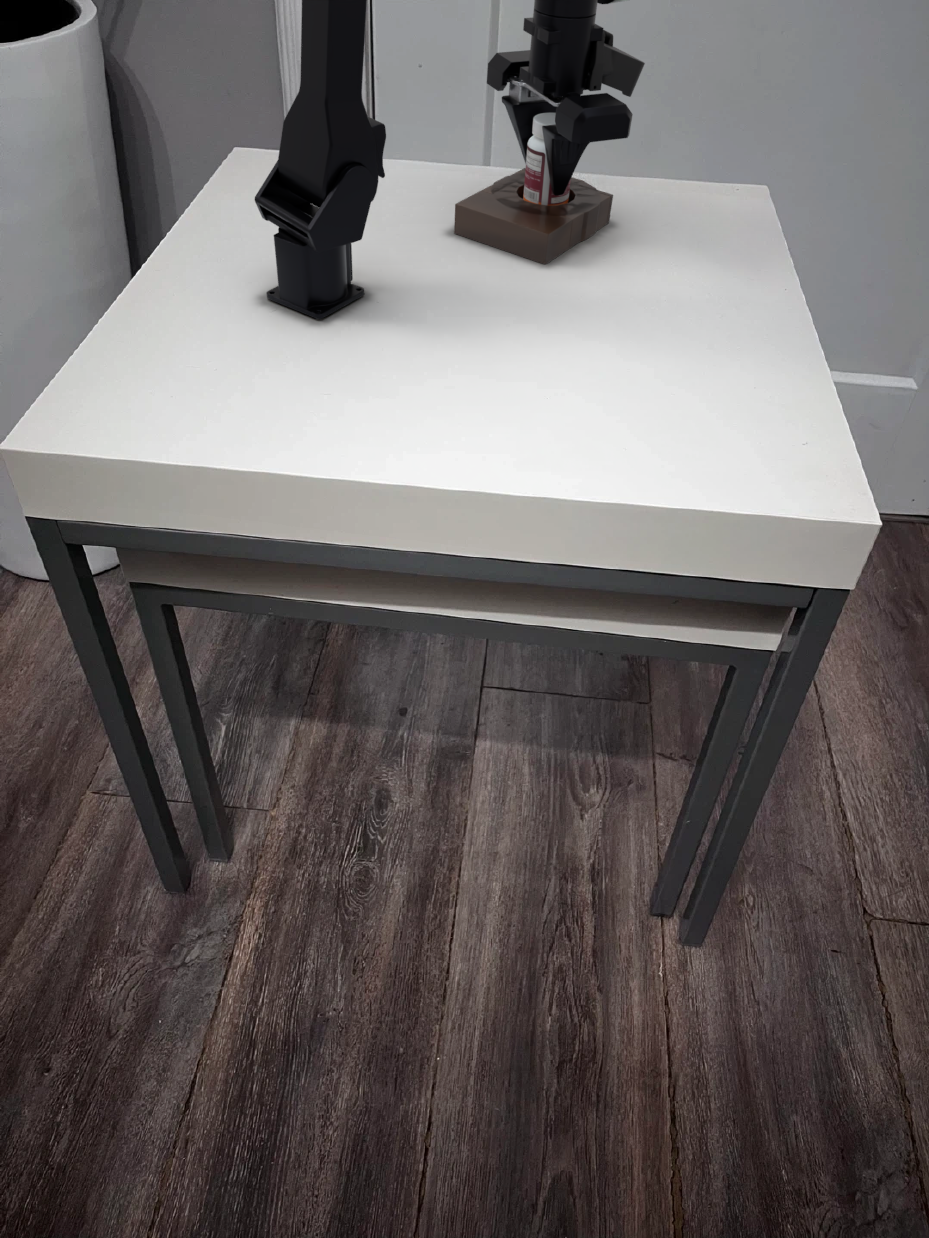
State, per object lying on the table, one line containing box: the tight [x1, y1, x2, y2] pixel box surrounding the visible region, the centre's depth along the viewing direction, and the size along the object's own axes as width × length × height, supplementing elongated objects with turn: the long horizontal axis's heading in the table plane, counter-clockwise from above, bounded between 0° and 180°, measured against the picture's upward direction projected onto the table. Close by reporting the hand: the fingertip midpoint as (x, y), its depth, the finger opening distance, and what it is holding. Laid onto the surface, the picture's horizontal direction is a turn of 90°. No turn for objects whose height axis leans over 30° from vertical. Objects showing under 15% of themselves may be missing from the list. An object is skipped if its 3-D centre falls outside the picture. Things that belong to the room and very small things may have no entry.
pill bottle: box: [523, 113, 571, 206], centre depth 98 cm, size 5×5×8 cm
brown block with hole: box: [453, 167, 614, 265], centre depth 100 cm, size 14×11×3 cm
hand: (546, 185), depth 99 cm, fingers closed on pill bottle, 5 cm apart
